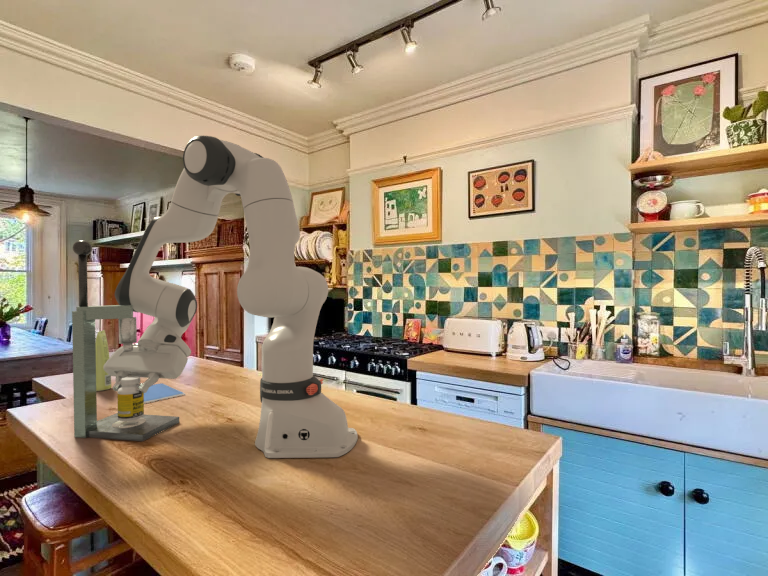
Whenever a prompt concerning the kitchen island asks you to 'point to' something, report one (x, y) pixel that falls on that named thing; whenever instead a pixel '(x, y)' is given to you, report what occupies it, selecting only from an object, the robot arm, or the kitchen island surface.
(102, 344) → the tube
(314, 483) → the kitchen island surface
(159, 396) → the tablet computer
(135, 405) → the supplement bottle
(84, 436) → the press
